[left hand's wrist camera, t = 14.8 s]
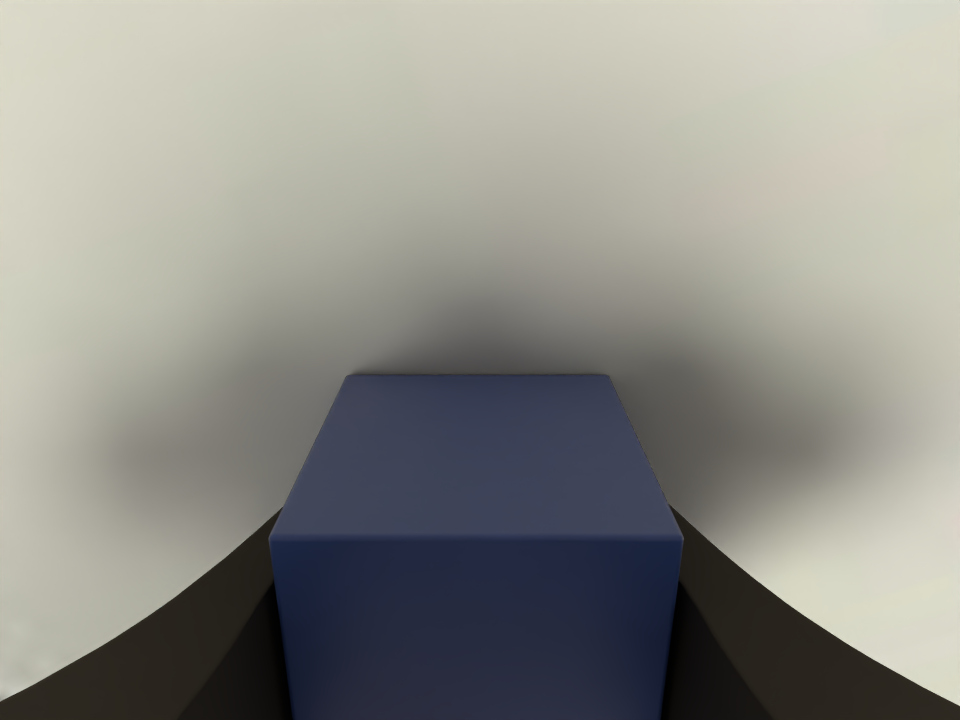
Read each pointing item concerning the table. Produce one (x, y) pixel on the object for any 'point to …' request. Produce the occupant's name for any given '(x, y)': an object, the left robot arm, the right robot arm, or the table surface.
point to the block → (476, 555)
